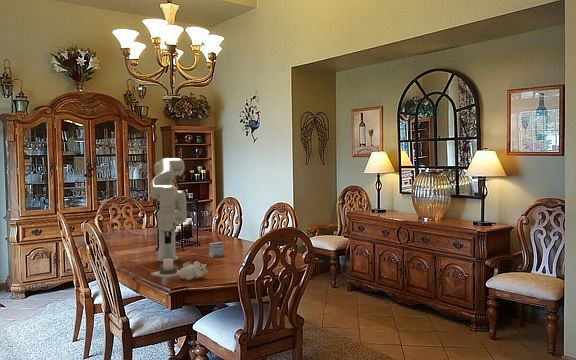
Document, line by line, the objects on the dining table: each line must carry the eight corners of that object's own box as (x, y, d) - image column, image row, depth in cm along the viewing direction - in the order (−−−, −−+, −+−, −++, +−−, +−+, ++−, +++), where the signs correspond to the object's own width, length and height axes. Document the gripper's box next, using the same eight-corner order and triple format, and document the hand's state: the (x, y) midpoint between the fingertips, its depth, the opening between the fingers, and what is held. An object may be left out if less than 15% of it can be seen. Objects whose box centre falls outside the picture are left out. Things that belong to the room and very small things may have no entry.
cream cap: (161, 272, 274) (161, 259, 274) (169, 270, 278) (168, 258, 278) (167, 273, 271) (167, 260, 271) (175, 272, 275) (174, 259, 275)
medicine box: (212, 257, 317) (212, 244, 317) (208, 256, 321) (208, 242, 320) (223, 256, 322) (223, 242, 321) (220, 255, 325) (219, 241, 325)
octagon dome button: (150, 274, 273) (150, 269, 273) (169, 270, 284) (169, 265, 284) (167, 278, 266) (167, 273, 266) (185, 273, 276) (185, 268, 276)
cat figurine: (177, 262, 261) (205, 256, 267) (175, 267, 268) (203, 261, 274) (181, 280, 257) (210, 273, 263) (179, 284, 264) (207, 278, 270)
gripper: (152, 209, 274) (153, 243, 275) (171, 211, 266) (172, 246, 267) (163, 207, 280) (163, 240, 281) (182, 209, 272) (182, 243, 273)
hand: (167, 243), depth 274 cm, fingers closed
